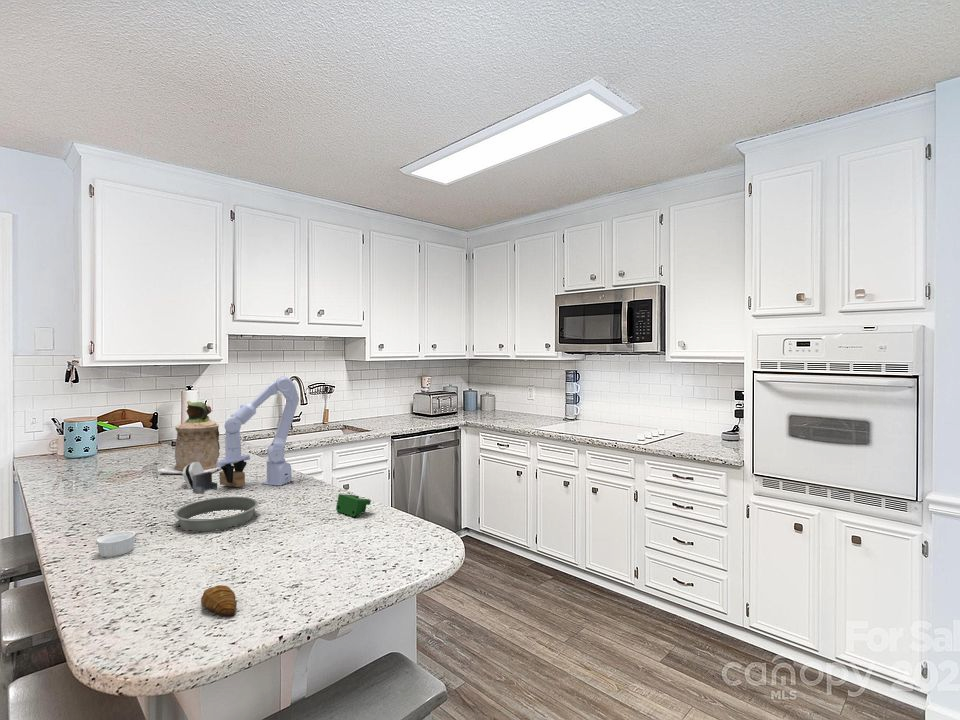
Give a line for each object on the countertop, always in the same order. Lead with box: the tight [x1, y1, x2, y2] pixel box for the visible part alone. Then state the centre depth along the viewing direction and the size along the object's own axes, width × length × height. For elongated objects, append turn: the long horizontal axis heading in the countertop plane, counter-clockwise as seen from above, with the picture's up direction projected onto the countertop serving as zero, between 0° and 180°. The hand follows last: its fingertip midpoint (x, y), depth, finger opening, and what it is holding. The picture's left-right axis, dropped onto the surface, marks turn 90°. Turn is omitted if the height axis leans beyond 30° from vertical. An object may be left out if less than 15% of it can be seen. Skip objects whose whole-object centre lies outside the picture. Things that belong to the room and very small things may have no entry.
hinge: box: [182, 462, 205, 490], centre depth 218 cm, size 17×5×10 cm, turn 17°
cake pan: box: [173, 496, 259, 532], centre depth 172 cm, size 25×25×4 cm
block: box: [219, 470, 246, 488], centre depth 212 cm, size 10×4×5 cm, turn 66°
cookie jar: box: [157, 400, 233, 475], centre depth 245 cm, size 25×25×32 cm
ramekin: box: [96, 530, 136, 558], centre depth 146 cm, size 9×9×4 cm
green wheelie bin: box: [335, 493, 372, 518], centre depth 178 cm, size 12×6×9 cm, turn 43°
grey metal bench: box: [192, 472, 218, 495], centre depth 207 cm, size 5×7×6 cm
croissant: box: [200, 585, 237, 618], centre depth 114 cm, size 14×7×5 cm, turn 47°
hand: (234, 481), depth 212 cm, fingers closed on block, 3 cm apart
